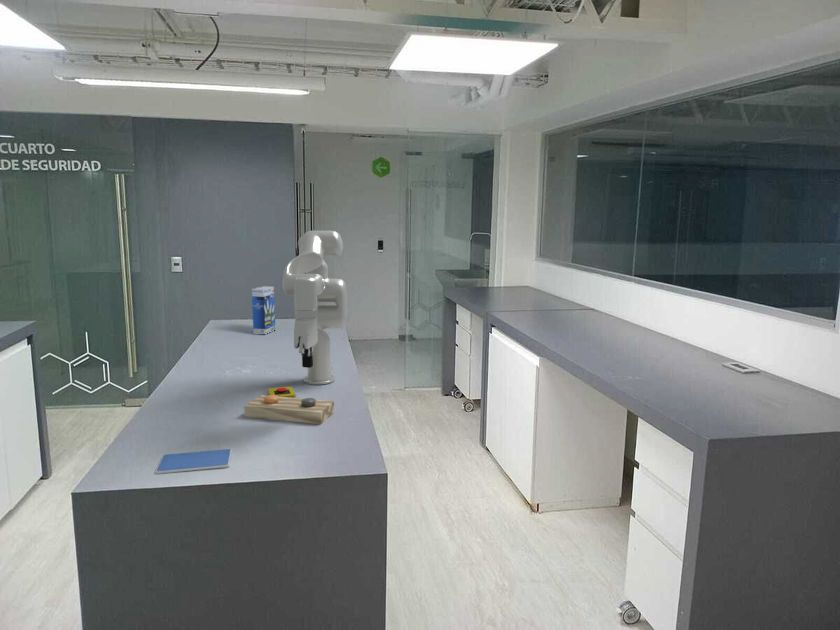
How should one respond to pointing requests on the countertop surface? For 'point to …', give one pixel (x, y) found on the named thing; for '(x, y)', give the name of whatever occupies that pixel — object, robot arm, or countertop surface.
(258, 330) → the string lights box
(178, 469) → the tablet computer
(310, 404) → the gray knob
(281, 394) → the emergency button
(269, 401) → the orange knob
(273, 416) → the control block
